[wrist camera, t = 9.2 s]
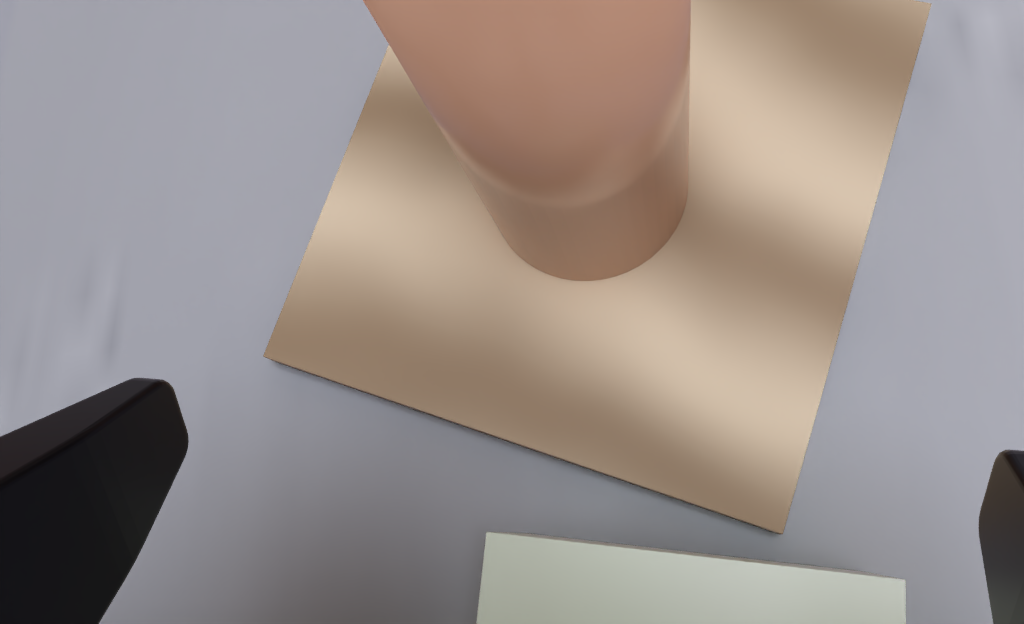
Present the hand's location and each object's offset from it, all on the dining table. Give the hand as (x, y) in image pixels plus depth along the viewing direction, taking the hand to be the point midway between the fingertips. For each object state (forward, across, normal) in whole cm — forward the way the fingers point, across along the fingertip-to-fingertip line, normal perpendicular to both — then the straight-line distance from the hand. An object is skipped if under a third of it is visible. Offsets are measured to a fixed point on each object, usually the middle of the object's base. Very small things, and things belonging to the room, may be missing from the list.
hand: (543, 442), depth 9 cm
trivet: (+15, +2, +3) cm, 15 cm away
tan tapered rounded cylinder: (+14, +2, +3) cm, 14 cm away
